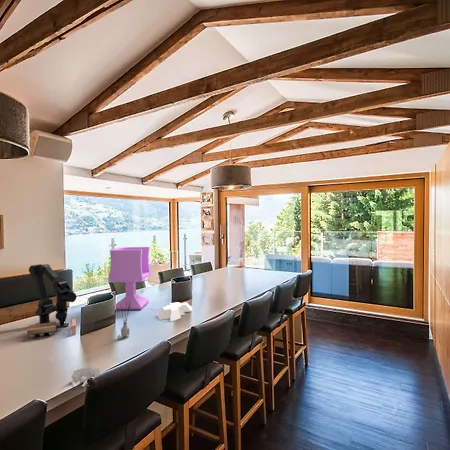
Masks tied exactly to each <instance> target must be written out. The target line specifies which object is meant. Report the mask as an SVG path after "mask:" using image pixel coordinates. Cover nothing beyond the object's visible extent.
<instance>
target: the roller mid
mask: <svg viewBox="0 0 450 450" xmlns="http://www.w3.org/2000/svg"><path fill="white" fill-rule="evenodd" d="M45 335H46V332H44V333H38V336H39V337H44V336H45Z"/></svg>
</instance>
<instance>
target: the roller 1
mask: <svg viewBox="0 0 450 450" xmlns="http://www.w3.org/2000/svg"><path fill="white" fill-rule="evenodd" d="M36 336H37V334H30V335H29V337H30V339H35V338H36Z"/></svg>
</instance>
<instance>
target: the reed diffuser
mask: <svg viewBox="0 0 450 450" xmlns="http://www.w3.org/2000/svg"><path fill="white" fill-rule="evenodd" d="M129 304H130V301H129ZM120 305H121V304H120ZM126 306H127V302H126ZM129 308H130V306H129V307H128V309H127V311H124V312H125V313H124V315H123V309H122V308H121V310H120V311H121V315H122V317H125V318H122V320H123V321H122V322H123V326H122V327H121V328H120V334H121V335H120V334H118V335H117V340H121V339H122V338H123V337H128V336H129V335H130V330H131V329H130V327H129V326H128V325H127V320H128V314H129V311H130V309H129ZM126 314H127V315H126Z"/></svg>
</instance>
